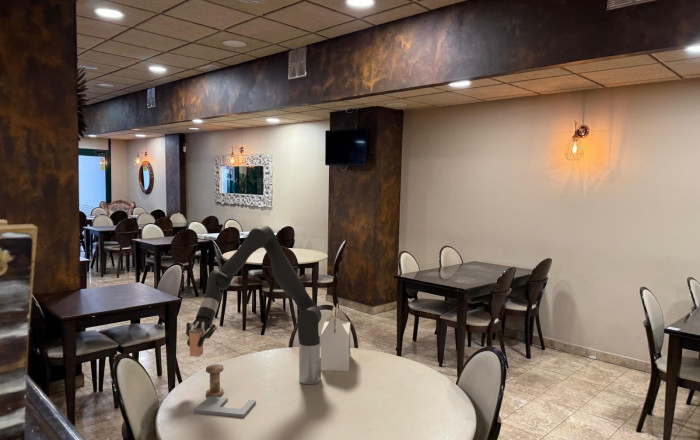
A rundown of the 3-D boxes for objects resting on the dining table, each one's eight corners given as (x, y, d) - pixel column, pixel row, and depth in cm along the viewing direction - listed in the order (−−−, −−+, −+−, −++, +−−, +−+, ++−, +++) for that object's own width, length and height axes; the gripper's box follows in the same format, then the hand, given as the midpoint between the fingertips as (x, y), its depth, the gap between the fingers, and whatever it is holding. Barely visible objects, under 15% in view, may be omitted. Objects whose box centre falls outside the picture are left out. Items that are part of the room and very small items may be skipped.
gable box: (324, 354, 243) (324, 301, 241) (349, 355, 242) (350, 301, 241) (320, 371, 221) (320, 312, 219) (348, 371, 220) (349, 313, 219)
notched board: (255, 403, 186) (255, 400, 186) (243, 417, 175) (243, 414, 174) (209, 398, 190) (209, 396, 190) (194, 412, 178) (194, 409, 178)
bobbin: (226, 390, 198) (226, 365, 197) (218, 398, 191) (218, 371, 190) (211, 389, 199) (210, 363, 198) (203, 396, 192) (202, 369, 191)
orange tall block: (203, 353, 201) (202, 328, 201) (198, 356, 197) (198, 331, 197) (194, 352, 202) (194, 327, 201) (189, 356, 198) (189, 330, 197)
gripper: (189, 305, 207) (174, 340, 196) (219, 307, 204) (206, 343, 193) (196, 313, 213) (182, 348, 201) (225, 315, 210) (212, 351, 199)
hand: (193, 345), depth 197 cm, fingers closed on orange tall block, 4 cm apart
